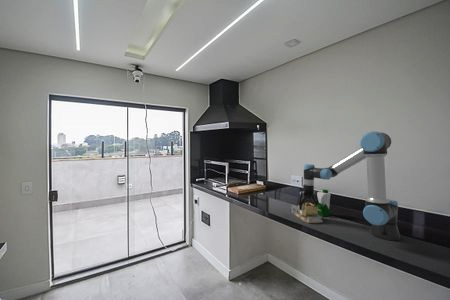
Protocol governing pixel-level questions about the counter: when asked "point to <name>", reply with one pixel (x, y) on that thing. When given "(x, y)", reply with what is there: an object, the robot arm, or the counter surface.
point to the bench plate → (306, 218)
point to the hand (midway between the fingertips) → (307, 213)
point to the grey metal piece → (311, 217)
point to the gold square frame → (309, 209)
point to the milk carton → (323, 203)
